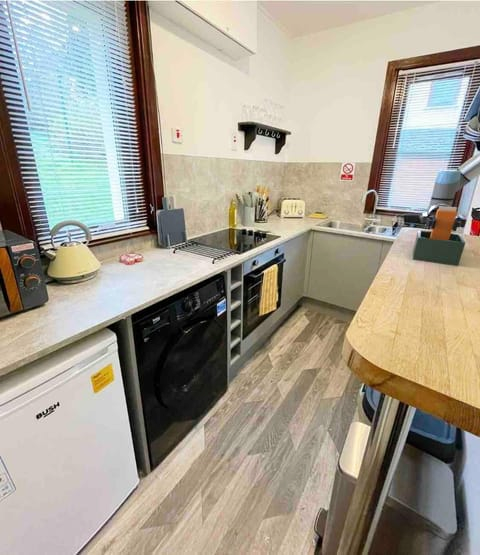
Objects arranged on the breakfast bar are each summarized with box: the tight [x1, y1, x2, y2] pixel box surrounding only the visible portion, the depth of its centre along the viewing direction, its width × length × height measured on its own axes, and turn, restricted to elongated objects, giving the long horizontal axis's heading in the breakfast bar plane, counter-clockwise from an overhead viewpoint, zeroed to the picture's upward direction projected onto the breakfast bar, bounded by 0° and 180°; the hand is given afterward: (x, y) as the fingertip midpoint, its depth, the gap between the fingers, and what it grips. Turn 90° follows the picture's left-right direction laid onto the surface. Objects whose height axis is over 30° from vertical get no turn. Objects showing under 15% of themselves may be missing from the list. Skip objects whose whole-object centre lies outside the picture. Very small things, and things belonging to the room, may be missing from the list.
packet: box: [430, 206, 458, 240], centre depth 91 cm, size 5×4×11 cm
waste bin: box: [412, 229, 466, 267], centre depth 94 cm, size 13×13×8 cm
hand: (444, 225), depth 86 cm, fingers closed on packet, 5 cm apart
